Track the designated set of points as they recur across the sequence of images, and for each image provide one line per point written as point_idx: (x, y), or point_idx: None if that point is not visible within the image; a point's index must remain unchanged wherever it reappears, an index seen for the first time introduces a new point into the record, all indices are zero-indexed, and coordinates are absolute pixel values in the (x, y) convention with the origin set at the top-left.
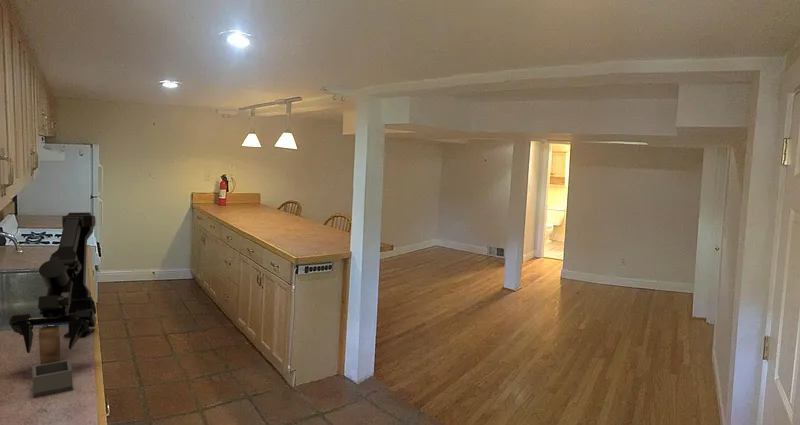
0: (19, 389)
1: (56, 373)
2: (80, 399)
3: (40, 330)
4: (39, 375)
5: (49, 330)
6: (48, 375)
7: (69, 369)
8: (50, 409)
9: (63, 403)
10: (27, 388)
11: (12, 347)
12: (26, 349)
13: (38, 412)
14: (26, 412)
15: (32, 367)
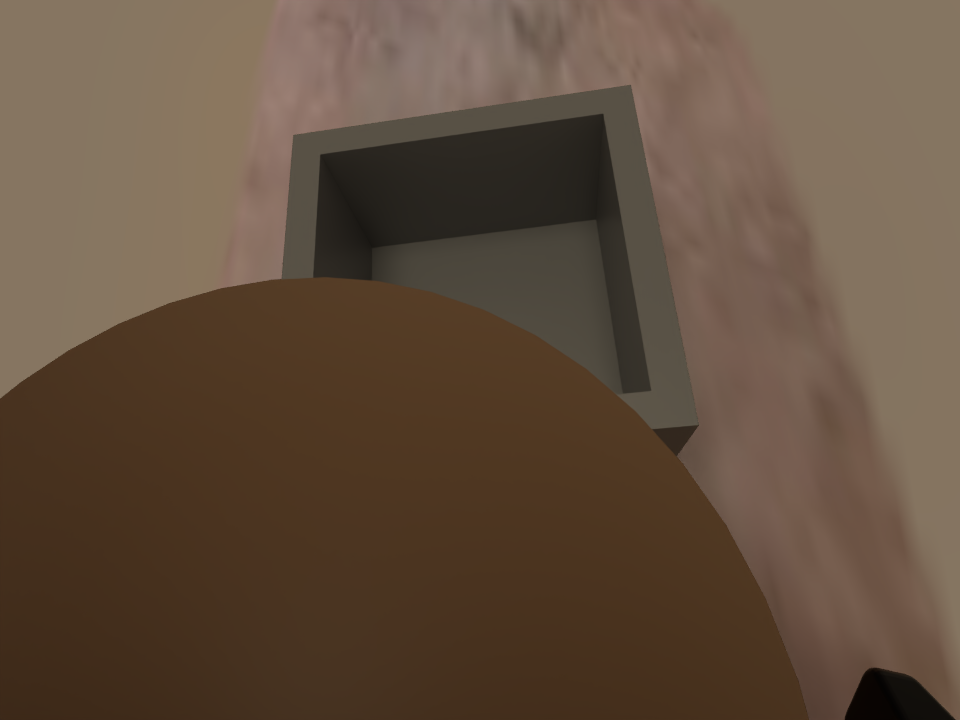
0: (767, 432)
1: (425, 118)
2: (334, 96)
3: (682, 569)
4: (574, 114)
5: (253, 359)
6: (494, 113)
7: (309, 163)
8: (497, 31)
9: (428, 77)
10: (699, 424)
11: None
12: (945, 710)
13: (560, 16)
14: (629, 34)
15: (686, 370)
